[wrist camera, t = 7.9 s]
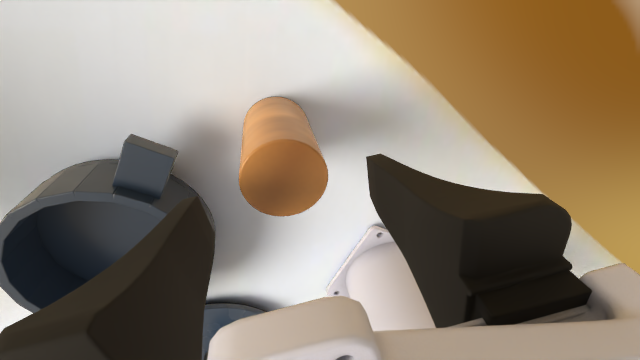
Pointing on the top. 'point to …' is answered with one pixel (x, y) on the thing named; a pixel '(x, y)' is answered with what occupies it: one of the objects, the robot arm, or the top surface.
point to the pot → (86, 221)
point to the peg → (280, 159)
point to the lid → (222, 320)
